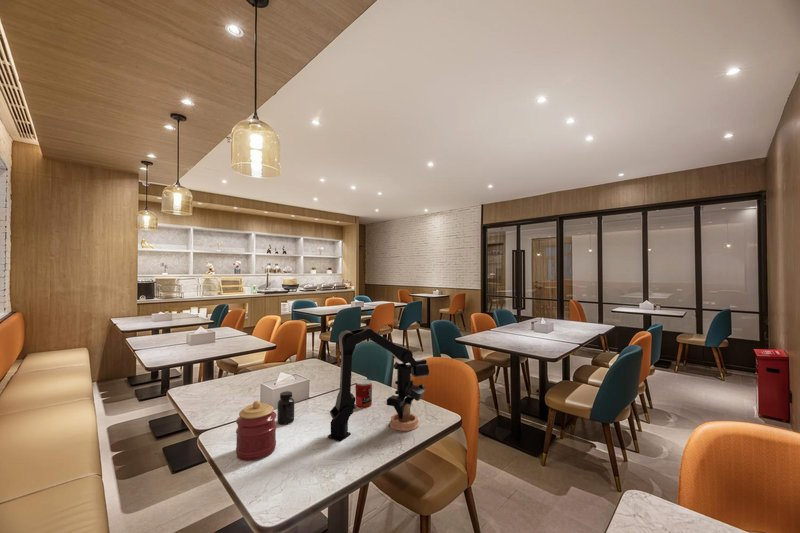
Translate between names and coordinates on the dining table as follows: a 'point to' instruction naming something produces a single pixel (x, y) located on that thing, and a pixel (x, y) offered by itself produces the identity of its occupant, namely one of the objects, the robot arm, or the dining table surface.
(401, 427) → the dish
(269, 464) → the dining table surface
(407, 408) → the bead
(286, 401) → the supplement bottle
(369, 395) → the canned food
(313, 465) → the dining table surface
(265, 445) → the canister
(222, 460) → the dining table surface
